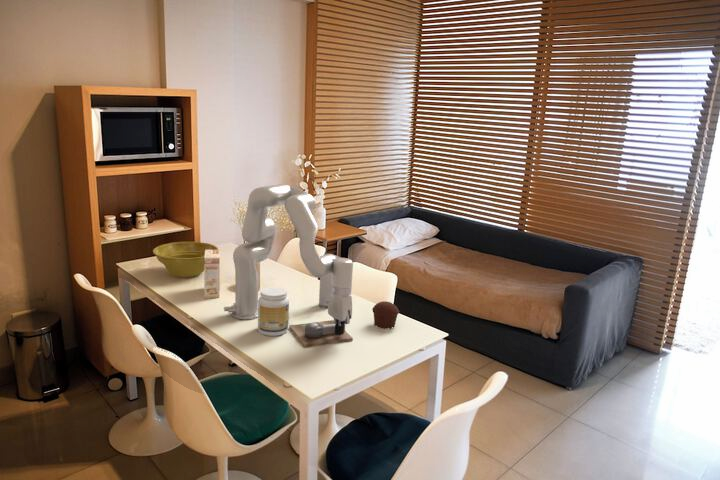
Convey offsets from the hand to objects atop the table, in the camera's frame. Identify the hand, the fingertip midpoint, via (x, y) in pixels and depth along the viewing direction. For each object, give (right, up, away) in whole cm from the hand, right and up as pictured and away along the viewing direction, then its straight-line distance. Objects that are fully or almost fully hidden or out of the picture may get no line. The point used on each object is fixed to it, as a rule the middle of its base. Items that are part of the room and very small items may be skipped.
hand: (339, 333), depth 208 cm
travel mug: (-8, +6, +36) cm, 37 cm away
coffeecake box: (-62, +12, +43) cm, 77 cm away
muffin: (+19, 0, +18) cm, 26 cm away
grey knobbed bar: (-6, 0, +2) cm, 6 cm away
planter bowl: (-83, +19, +68) cm, 109 cm away
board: (-8, -1, +5) cm, 9 cm away
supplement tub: (-27, 0, +5) cm, 28 cm away
